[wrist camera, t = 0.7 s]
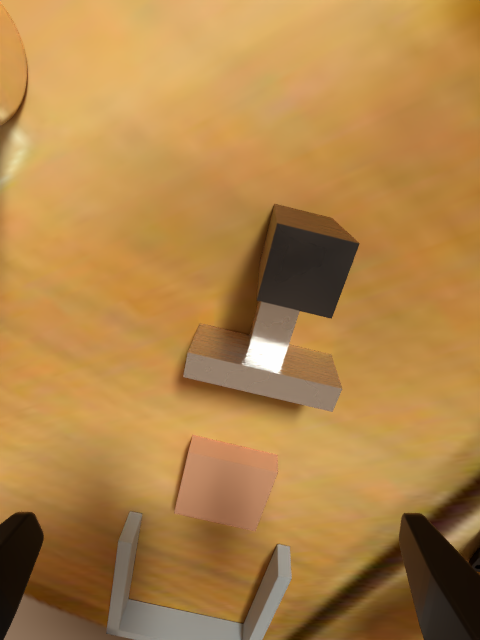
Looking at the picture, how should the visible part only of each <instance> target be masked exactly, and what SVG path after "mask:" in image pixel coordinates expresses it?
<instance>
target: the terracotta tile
mask: <svg viewBox="0 0 480 640" xmlns="http://www.w3.org/2000/svg"><path fill="white" fill-rule="evenodd" d="M277 474H278V460H277V455H276V454H272V453H268V452H264V451H259V450H255V449H251V448H247V447H242V446H238V445H234V444H230V443H225V442H221V441H217V440H213V439H208V438H204V437H200V436H196V435H193V436H192V440H191V444H190V448H189V451H188V456H187V460H186V464H185V469H184V473H183V477H182V481H181V486H180V490H179V494H178V499H177V503H176V507H175V512H174V513H175V514H180V515H184V516H189V517H193V518H198V519H202V520H207V521H211V522H216V523H220V524H225V525H229V526H234V527H238V528H242V529H247V530H251V531H256V528H257V526H258V523H259V521H260V518H261V515H262V513H263V510H264V508H265V505H266V502H267V500H268V497H269V495H270V492H271V489H272V487H273V484H274V482H275V479H276V476H277Z"/></svg>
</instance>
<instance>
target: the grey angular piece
mask: <svg viewBox="0 0 480 640" xmlns="http://www.w3.org/2000/svg"><path fill="white" fill-rule="evenodd" d="M358 246H359V243H358V242H357V241H356V240H355V239H354V238H353V237H352V236H351V235H350V234H349V233H348V232H347V231H345V230H344V229H343V228H342V227H341V226H340V225H339V224H338V223H337V222H336V221H335V220H334V219H332V218H330V217H326V216H322V215H318V214H314V213H309V212H305V211H301V210H297V209H293V208H289V207H285V206H281V205H277V204H274V208H273V212H272V216H271V220H270V223H269V227H268V231H267V235H266V239H265V243H264V247H263V251H262V254H261V258H260V266H259V278H258V290H257V301H259V302H258V305H257V309H256V313H255V316H254V320H253V324H252V328H251V331H250V335H247V334H243V333H239V332H235V331H231V330H226V329H222V328H218V327H214V326H209V325H205V324H201V323H200V324H199V327H198V329H197V332H196V334H195V336H194V339H193V341H192V344H191V346H190V348H189V351H188V354H187V359H186V364H185V370H184V375H183V377H185V378H190V379H194V380H198V381H203V382H207V383H211V384H215V385H220V386H224V387H228V388H233V389H237V390H241V391H245V392H250V393H254V394H258V395H263V396H267V397H271V398H276V399H280V400H284V401H288V402H293V403H297V404H301V405H306V406H310V407H314V408H318V409H323V410H327V411H331V412H333V409H334V407H335V405H336V402H337V400H338V398H339V395H340V393H341V391H342V386H341V383H340V380H339V377H338V374H337V371H336V368H335V365H334V361H333V358H332V355H331V354H327V353H323V352H319V351H315V350H311V349H306V348H302V347H298V346H294V345H290V344H289V342H290V339H291V336H292V333H293V330H294V327H295V324H296V320H297V317H298V314H299V311H302V312H307V313H311V314H315V315H319V316H323V317H327V318H331V319H332V316H333V314H334V311H335V308H336V305H337V303H338V300H339V297H340V295H341V292H342V289H343V287H344V284H345V281H346V278H347V276H348V273H349V270H350V268H351V265H352V262H353V260H354V257H355V254H356V251H357V249H358Z"/></svg>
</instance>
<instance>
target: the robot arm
mask: <svg viewBox="0 0 480 640" xmlns="http://www.w3.org/2000/svg"><path fill="white" fill-rule="evenodd" d="M43 538H44V535H43V531H42V529H41V526H40V524H39V522H38V520H37V518H36V516H35V514H34V513H32V512H17V513H15V514H13V515H12V516H10V517H9V518H8V519H7V520H5V521H4V522H3V523H1V524H0V640H4V638H5V635H6V633H7V631H8V629H9V627H10V625H11V623H12V620H13V618H14V616H15V614H16V611H17V609H18V606H19V604H20V602H21V599H22V596H23V594H24V591H25V588H26V586H27V583H28V581H29V578H30V575H31V573H32V570H33V567H34V565H35V562H36V559H37V557H38V554H39V551H40V549H41V546H42V543H43ZM399 544H400V549H401V553H402V557H403V561H404V565H405V569H406V573H407V577H408V581H409V585H410V589H411V593H412V597H413V601H414V605H415V609H416V613H417V617H418V621H419V625H420V628H421V631H422V634H423V637H424V640H480V575H479V574H478V573H477V572H476V571H478V572H480V548H479V549H478V550H477V552H476V553H475V554H474V555H473V557H472V558H471V559H470V560H469V563H468V562H467V561H466V560H465V559H464V558H463V557H462V556H461V555H460V554H459V553H458V551H457V550H456V549H455V548H454V547H453V546H452V545H451V544H450V543H449V542H448V541H447V540H446V539H445V538H444V536H443V535H442V534H441V533H440V532H439V531H438V530H437V529H436V528H435V527H434V526H433V525H432V524H431V523H430V521H429V520H428V519H427V518H426V517H425V516H424V515H422V514H420V513H404V514H403V515H402V518H401V526H400V533H399Z"/></svg>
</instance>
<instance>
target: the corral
mask: <svg viewBox="0 0 480 640" xmlns="http://www.w3.org/2000/svg"><path fill="white" fill-rule="evenodd" d="M141 520H142V514H141V513H136V512H132V511H130V513H129V515H128V518H127V520H126V523H125V525H124V528H123V530H122V533H121V535H120V538H119V540H118V548H117V555H116V563H115V571H114V579H113V586H112V594H111V602H110V610H109V617H108V625H107V634H111V635H115V636H120V637H125V638H129V639H134V640H262V639H263V637H264V635H265V633H266V631H267V629H268V626H269V624H270V622H271V620H272V618H273V616H274V614H275V612H276V610H277V608H278V606H279V604H280V602H281V600H282V597H283V595H284V593H285V591H286V589H287V587H288V585H289V583H290V581H291V560H290V547H289V546H284V545H280V544H277V547H276V549H275V551H274V554H273V556H272V558H271V561H270V563H269V565H268V568H267V570H266V572H265V575H264V577H263V580H262V582H261V584H260V587H259V589H258V591H257V594H256V596H255V598H254V601H253V603H252V605H251V608H250V610H249V612H248V615H247V617H246V620H245V622H244V624H241V623H237V622H232V621H228V620H223V619H218V618H214V617H209V616H204V615H200V614H195V613H190V612H186V611H181V610H177V609H172V608H167V607H163V606H158V605H153V604H149V603H144V602H140V601H135V600H130V599H128V598H129V592H130V586H131V580H132V574H133V568H134V562H135V556H136V550H137V544H138V538H139V532H140V526H141Z"/></svg>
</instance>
